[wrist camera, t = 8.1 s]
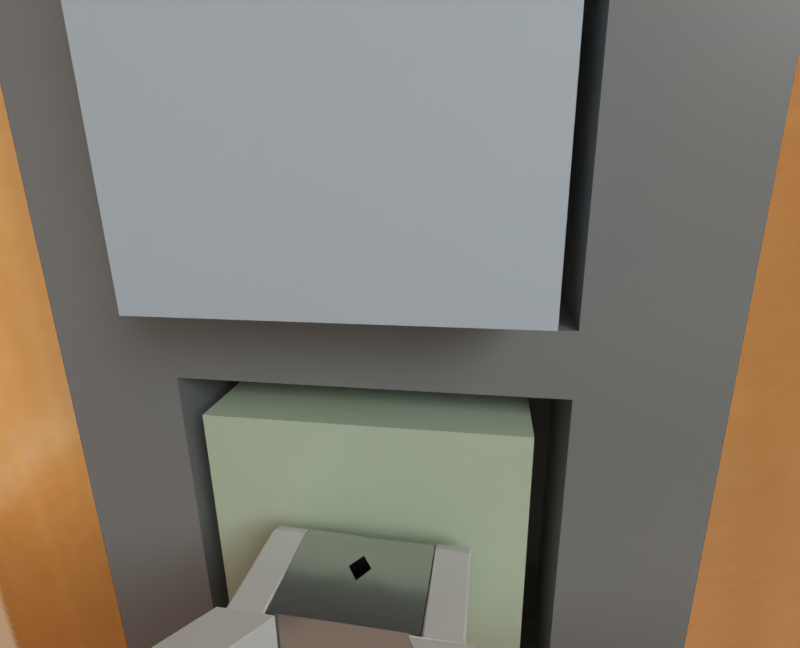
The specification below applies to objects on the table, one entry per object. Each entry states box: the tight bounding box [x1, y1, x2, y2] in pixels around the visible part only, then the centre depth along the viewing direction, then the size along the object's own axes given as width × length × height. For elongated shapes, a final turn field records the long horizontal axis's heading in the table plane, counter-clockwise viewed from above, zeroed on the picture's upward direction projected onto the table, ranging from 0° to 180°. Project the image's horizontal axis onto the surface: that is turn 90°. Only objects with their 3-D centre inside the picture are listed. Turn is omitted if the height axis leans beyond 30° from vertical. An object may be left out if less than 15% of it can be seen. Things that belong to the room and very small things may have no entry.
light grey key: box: [61, 0, 584, 331], centre depth 6 cm, size 5×5×2 cm
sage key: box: [202, 381, 534, 648], centre depth 9 cm, size 5×5×2 cm
